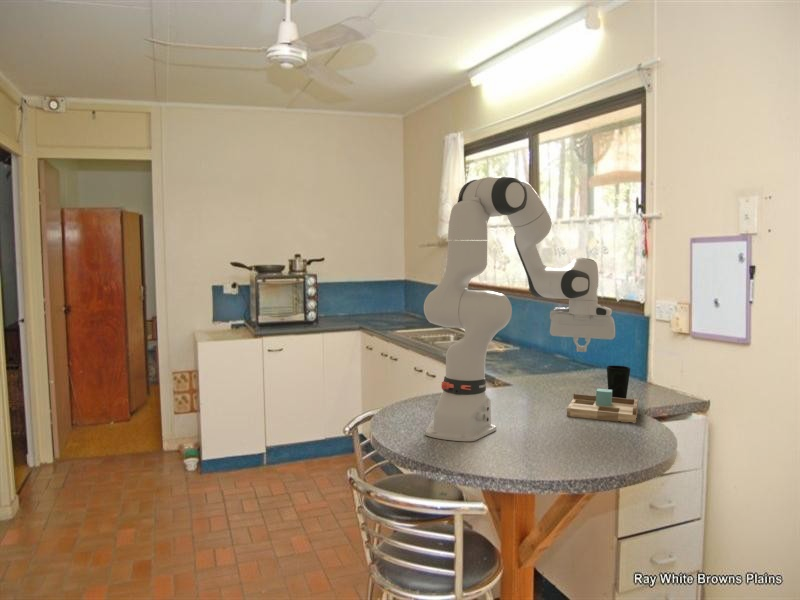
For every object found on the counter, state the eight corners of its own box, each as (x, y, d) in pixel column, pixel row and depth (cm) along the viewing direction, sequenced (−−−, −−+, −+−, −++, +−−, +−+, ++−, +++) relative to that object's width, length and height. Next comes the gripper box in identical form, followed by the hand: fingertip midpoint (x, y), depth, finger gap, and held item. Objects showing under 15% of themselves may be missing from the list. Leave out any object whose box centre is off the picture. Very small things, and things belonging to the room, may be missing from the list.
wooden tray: (635, 423, 186) (636, 408, 185) (566, 415, 193) (567, 401, 193) (637, 411, 200) (638, 398, 200) (573, 405, 208) (573, 392, 208)
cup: (625, 399, 218) (627, 365, 218) (631, 404, 211) (633, 369, 210) (603, 399, 219) (604, 365, 219) (608, 403, 212) (609, 368, 211)
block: (610, 406, 196) (611, 392, 196) (595, 405, 198) (596, 390, 198) (611, 403, 200) (612, 389, 200) (597, 402, 202) (597, 388, 202)
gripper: (548, 307, 201) (547, 350, 202) (615, 310, 194) (613, 355, 194) (551, 306, 207) (550, 348, 208) (616, 309, 199) (615, 352, 200)
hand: (581, 351), depth 201 cm, fingers closed
